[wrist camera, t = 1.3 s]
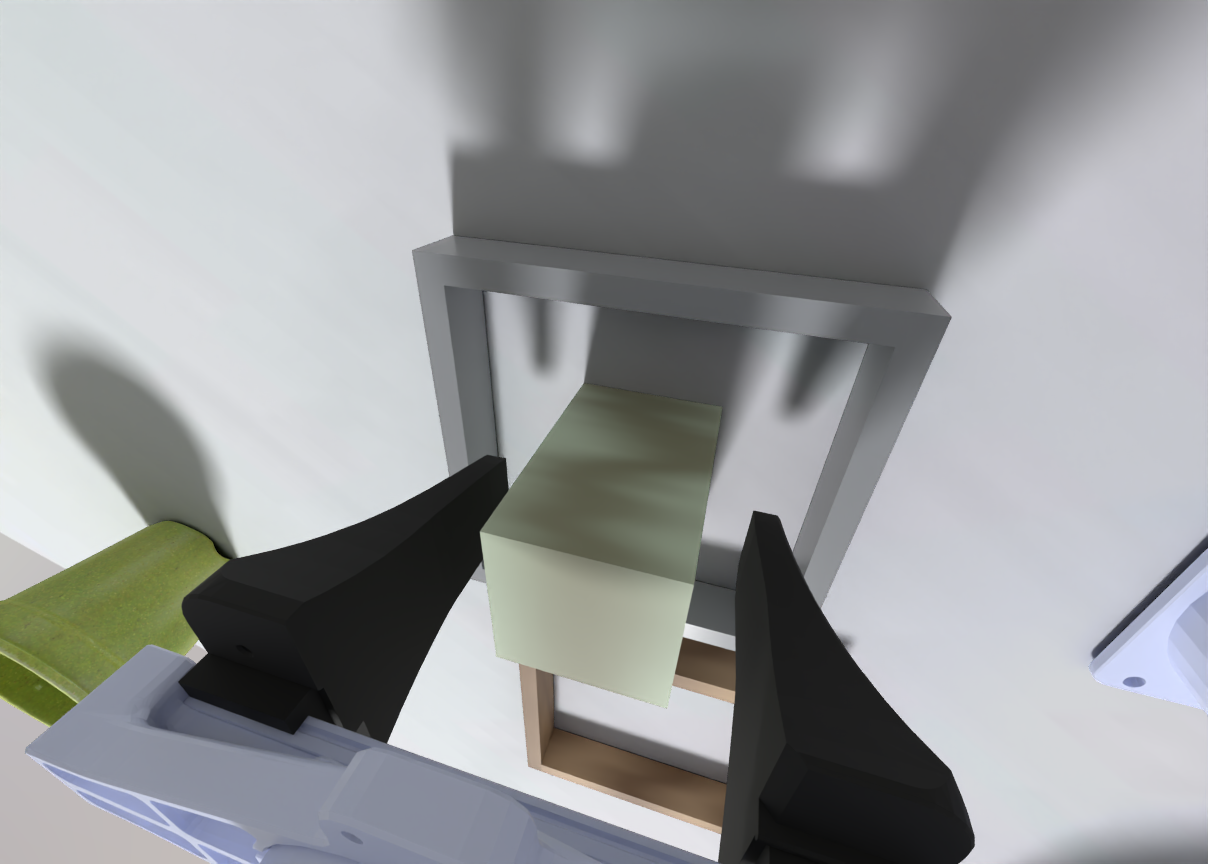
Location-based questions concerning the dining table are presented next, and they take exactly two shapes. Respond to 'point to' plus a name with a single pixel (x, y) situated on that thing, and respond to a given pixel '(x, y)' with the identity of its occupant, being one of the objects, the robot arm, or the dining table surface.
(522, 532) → the sage block
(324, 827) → the robot arm
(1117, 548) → the dining table surface
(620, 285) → the charcoal bin
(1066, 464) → the dining table surface
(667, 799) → the brown wooden square frame
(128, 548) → the plant pot
